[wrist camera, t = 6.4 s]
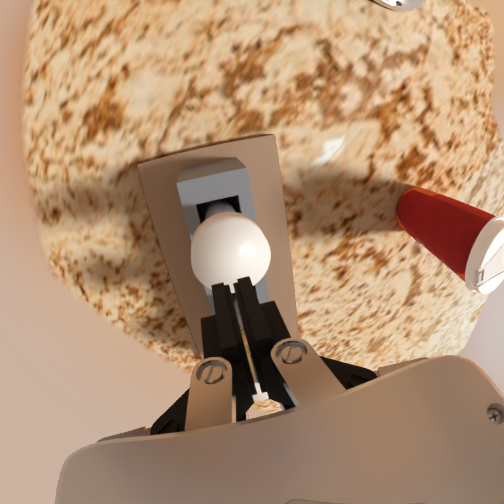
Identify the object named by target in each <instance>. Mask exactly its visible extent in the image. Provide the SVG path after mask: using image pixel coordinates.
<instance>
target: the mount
mask: <svg viewBox="0 0 504 504" xmlns="http://www.w3.org/2000/svg"><path fill="white" fill-rule="evenodd" d="M137 167H138V171H139V175H140V179H141V183H142V187H143V190H144V194H145V198H146V201H147V205H148V208H149V212H150V215H151V219H152V222H153V225H154V229H155V232H156V235H157V238H158V241H159V245H160V248H161V251H162V254H163V257H164V260H165V263H166V266H167V269H168V272H169V275H170V278H171V280H172V283H173V286H174V289H175V292H176V294H177V297H178V300H179V303H180V305H181V308H182V311H183V313H184V316H185V319H186V321H187V324H188V326H189V329H190V331H191V334H192V336H193V339H194V341H195V344H196V346H197V349H198V351H199V354H200V356H201V358H202V360H204V355H203V344H202V332H201V318H203V317H207V316H212V315H215V309H214V302H213V294H212V290H211V289H209V288H207V287H206V286H205V285H203V284H202V283H201V282H200V281H199V280H198V279H197V277H196V276H195V274H194V272H193V269H192V265H191V243H192V238H193V235H194V233H195V231H196V229H197V228H198V227H199V225H200V224H201V223H202V222H203V221H205V212H204V208H205V205H206V203H207V202H209V201H213V200H217V199H222V198H228V199H229V200H230V201H231V203H232V205H233V208H234V210H235V212H237V213H241V214H244V215H246V216H248V217H250V218H251V219H252V220H254V221H255V222H256V223H257V225H258V226H259V227H260V229H261V231H262V232H263V234H264V236H265V238H266V239H267V241H268V244H269V246H270V251H271V259H270V264H269V267H268V269H267V271H266V273H265V275H264V276H263V277H262V279H261V280H260V281H259V282H258V283H256V284H255V285H254V286H253V287H254V290H255V293H256V295H257V298H258V301H259V303H260V304H261V303H265V302H269V301H273V300H274V301H275V303H276V305H277V307H278V309H279V312H280V314H281V316H282V318H283V320H284V323H285V325H286V327H287V329H288V331H289V333H290V336H291V338H299V333H298V321H297V310H296V300H295V290H294V280H293V270H292V261H291V252H290V243H289V234H288V226H287V218H286V210H285V202H284V195H283V187H282V180H281V172H280V165H279V158H278V152H277V145H276V138H275V135H273V134H271V135H265V136H258V137H253V138H247V139H241V140H236V141H231V142H225V143H220V144H216V145H211V146H206V147H202V148H197V149H193V150H189V151H184V152H180V153H176V154H172V155H168V156H164V157H161V158H157V159H153V160H150V161H146V162H143V163H139V164H138V165H137Z"/></svg>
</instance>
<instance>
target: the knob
mask: <svg viewBox="0 0 504 504" xmlns="http://www.w3.org/2000/svg"><path fill="white" fill-rule="evenodd" d="M204 212H205V221H203V222H202V223H201V224H200V225H199V227H198V228H197V229H196V231H195V233H194V235H193V238H192V243H191V265H192V269H193V272H194V274H195V276H196V277H197V279H198V280H199V281H200V282H201V283H202V284H203V285H205V286H206V287H207V288H209V289H211V290H212V287H211V285H214V284H218V283H222V282H224V285H228V284H229V286H230V290H231V293H235V290H234V286H233V283H237V279H239V278H243V277H247V276H249V277H250V279H251V282H252V285H253V286H254V285H255V284H256V283H258V282H259V281H260V280H261V279H262V277H263V276H264V275H265V273H266V271H267V269H268V267H269V264H270V259H271V251H270V246H269V244H268V241H267V239H266V238H265V236H264V234H263V232H262V231H261V229H260V227H259V226H258V225H257V223H256V222H255V221H254V220H252V219H251V218H250V217H248V216H246V215H244V214H241V213H237V212H235V210H234V208H233V205H232V203H231V201H230V200H229V199H228V198H222V199H217V200H213V201H209V202H207V203H206V205H205V208H204Z"/></svg>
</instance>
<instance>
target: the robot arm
mask: <svg viewBox="0 0 504 504" xmlns="http://www.w3.org/2000/svg"><path fill="white" fill-rule="evenodd" d="M373 1H375V2H377V3H379V4H380V5H382V6H384V7H387V8H389V9H392V10H396V11H403V12H406V11H412V10H415V9H417V8H419V7H420V6H422V4H423V3H424V1H425V0H373ZM233 286H234V290H235V294H236V298H237V302H238V307H239V311H240V315H241V319H242V323H243V327H244V331H245V335H246V339H247V342H248V346H249V350H250V353H251V357H252V360H253V364H254V368H255V371H256V375H257V378H258V382H259V385H260V389H261V392H262V393H264V392H267V394H268V397H269V399H272V400H274V401H276V402H279V403H280V406H281V408H282V410H283V411H280V412H276V413H273V414H269V415H265V416H261V417H257V418H253V419H248V413H247V410H248V409H249V408H250V407H251V406H252V404H253V403H254V400H253V396H252V395H256V394H257V391H256V387H255V383H254V380H253V376H252V372H251V368H250V365H249V361H248V357H247V353H246V349H245V345H244V341H243V338H242V334H241V330H240V326H239V322H238V318H237V314H236V310H235V306H234V302H233V298H232V294H231V290H230V286H229V284H228V285H224V282H222V283H218V284H214V285H211V287H212V294H213V302H214V309H215V315H212V316H207V317H203V318H201V332H202V344H203V355H204V360H202V361H200V362H199V363H198V364H196V366H195V367H194V368H193V371H192V374H191V382H190V388H189V389H188V390H187V391H186V392H185V393H184V394H183V395H182V396H181V397H180V398H179V399H178V400H177V401H176V402H175V403H174V404H173V405H172V406H171V407H170V408H169V409H168V410H167V411H166V412H165V413H164V414H163V415H161V416H160V417H159V419H157V421H155V423H154V424H153V426H152V427H151V428H148V429H147V428H146V427H141V428H138V429H135V430H131V431H128V432H124V433H120V434H117V435H113V436H109V437H105V438H103V439H100V440H99V441H98V442H97V443H94V444H90V445H88V446H85V447H83V448H80V449H79V450H77V451H75V452H73V453H72V454H71V455H70V456H69V457H68V458H67V459H66V460H65V462H64V464H63V466H62V469H61V472H60V476H59V480H58V485H57V491H56V499H55V504H504V392H503V391H502V389H501V388H500V387H499V386H498V385H497V384H496V383H495V382H494V380H493V379H492V378H491V377H490V376H489V375H488V374H487V373H486V372H485V371H484V370H483V369H482V368H480V367H479V366H478V365H477V364H476V363H474V362H473V361H471V360H469V359H468V358H466V357H462V356H459V355H445V356H438V357H433V358H426V357H425V358H418V359H414V360H410V361H406V362H402V363H397V364H393V365H388V366H384V367H379V368H378V370H377V371H371V370H369V369H366V368H363V367H359V366H355V365H351V364H347V363H343V362H340V361H336V360H332V359H329V358H325V357H321V356H319V355H318V354H317V353H316V352H315V350H314V349H313V348H312V346H311V345H310V344H309V343H308V342H307V341H305V340H303V339H300V338H291V336H290V333H289V331H288V329H287V327H286V325H285V323H284V320H283V318H282V316H281V314H280V312H279V309H278V307H277V305H276V303H275V301H274V300H273V301H269V302H265V303H261V304H260V303H259V301H258V298H257V295H256V293H255V290H254V287H253V285H252V282H251V279H250V277H249V276H247V277H243V278H239V279H237V283H233Z"/></svg>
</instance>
